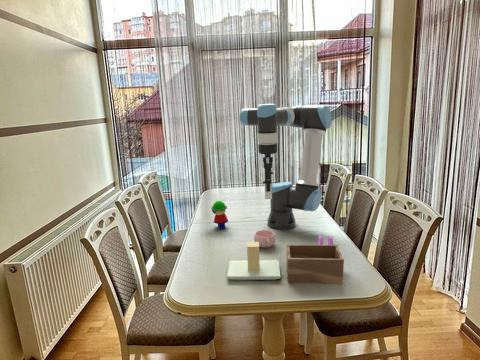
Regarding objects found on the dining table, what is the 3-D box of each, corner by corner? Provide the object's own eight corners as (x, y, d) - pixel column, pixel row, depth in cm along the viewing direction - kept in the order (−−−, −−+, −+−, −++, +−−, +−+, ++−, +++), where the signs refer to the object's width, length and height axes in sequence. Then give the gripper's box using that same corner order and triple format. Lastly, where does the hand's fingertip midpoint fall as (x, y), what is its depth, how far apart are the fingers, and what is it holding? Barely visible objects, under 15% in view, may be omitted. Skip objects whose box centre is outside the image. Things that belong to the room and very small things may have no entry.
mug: (252, 242, 162) (252, 230, 161) (272, 240, 164) (272, 228, 162) (258, 252, 151) (257, 240, 149) (279, 250, 152) (279, 238, 151)
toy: (228, 230, 177) (227, 203, 174) (212, 231, 177) (210, 203, 174) (228, 224, 186) (227, 198, 183) (212, 225, 186) (211, 199, 183)
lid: (229, 266, 140) (228, 237, 137) (278, 265, 139) (278, 237, 136) (227, 282, 127) (225, 251, 124) (280, 282, 126) (280, 251, 123)
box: (286, 265, 138) (286, 244, 136) (336, 266, 136) (337, 244, 134) (287, 282, 125) (287, 259, 123) (342, 283, 123) (343, 259, 121)
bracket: (318, 249, 152) (318, 234, 151) (330, 249, 152) (331, 234, 151) (324, 262, 140) (324, 247, 138) (337, 262, 139) (338, 247, 138)
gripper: (259, 139, 148) (260, 186, 153) (256, 148, 124) (258, 203, 129) (276, 139, 147) (277, 185, 152) (277, 147, 123) (278, 203, 128)
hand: (268, 194), depth 140 cm, fingers open, 13 cm apart
